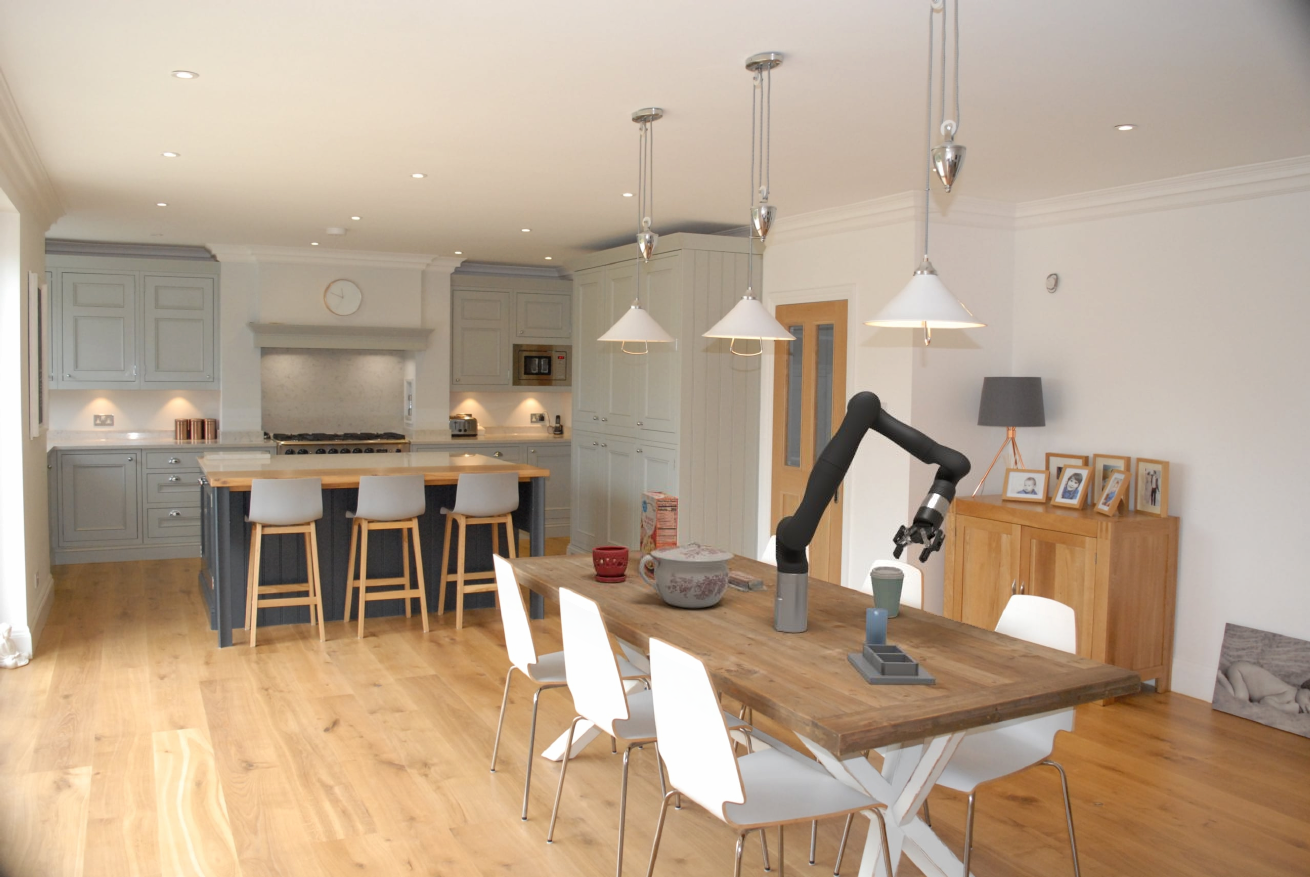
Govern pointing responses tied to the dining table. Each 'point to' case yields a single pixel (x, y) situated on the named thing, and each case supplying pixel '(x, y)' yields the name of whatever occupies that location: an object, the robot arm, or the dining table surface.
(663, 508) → the orange cereal box
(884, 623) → the pale blue cylinder
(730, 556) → the chamber pot
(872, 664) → the tray
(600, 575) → the plant pot
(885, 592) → the disposable coffee cup
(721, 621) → the dining table surface
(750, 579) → the packaged product
